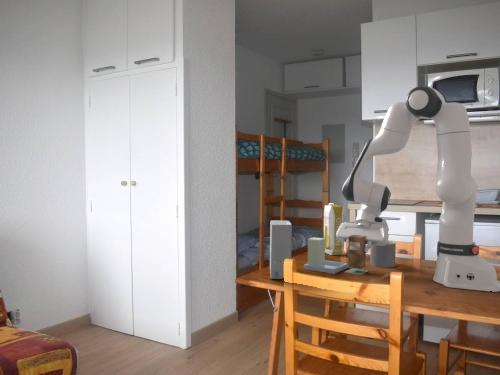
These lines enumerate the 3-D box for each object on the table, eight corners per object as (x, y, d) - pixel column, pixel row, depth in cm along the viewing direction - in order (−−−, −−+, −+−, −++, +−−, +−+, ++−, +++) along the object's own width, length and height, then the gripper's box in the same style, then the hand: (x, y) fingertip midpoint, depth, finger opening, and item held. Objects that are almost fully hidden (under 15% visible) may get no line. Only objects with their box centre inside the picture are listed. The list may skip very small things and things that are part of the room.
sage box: (324, 268, 177) (325, 238, 176) (318, 270, 173) (319, 240, 172) (313, 266, 180) (313, 237, 179) (307, 269, 176) (307, 238, 175)
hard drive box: (291, 279, 161) (292, 225, 160) (270, 279, 161) (270, 224, 160) (288, 269, 176) (289, 219, 175) (269, 269, 176) (269, 219, 176)
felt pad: (369, 272, 173) (369, 270, 173) (361, 276, 167) (361, 274, 167) (352, 269, 177) (352, 268, 177) (344, 273, 171) (344, 272, 171)
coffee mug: (384, 269, 178) (385, 244, 177) (365, 265, 186) (365, 241, 185) (405, 265, 185) (405, 241, 185) (385, 261, 193) (386, 238, 193)
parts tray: (347, 268, 179) (348, 263, 179) (334, 275, 168) (334, 269, 168) (318, 264, 186) (318, 259, 186) (303, 270, 176) (303, 264, 176)
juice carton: (321, 252, 213) (322, 202, 212) (336, 251, 215) (337, 202, 214) (330, 256, 204) (330, 204, 203) (345, 255, 206) (346, 203, 205)
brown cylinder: (365, 266, 172) (365, 235, 172) (360, 269, 168) (361, 237, 168) (353, 265, 175) (353, 234, 175) (348, 267, 171) (348, 236, 171)
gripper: (339, 216, 183) (329, 243, 175) (389, 219, 171) (380, 248, 163) (344, 226, 186) (333, 252, 179) (392, 230, 175) (384, 258, 167)
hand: (356, 250), depth 171 cm, fingers closed on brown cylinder, 5 cm apart
